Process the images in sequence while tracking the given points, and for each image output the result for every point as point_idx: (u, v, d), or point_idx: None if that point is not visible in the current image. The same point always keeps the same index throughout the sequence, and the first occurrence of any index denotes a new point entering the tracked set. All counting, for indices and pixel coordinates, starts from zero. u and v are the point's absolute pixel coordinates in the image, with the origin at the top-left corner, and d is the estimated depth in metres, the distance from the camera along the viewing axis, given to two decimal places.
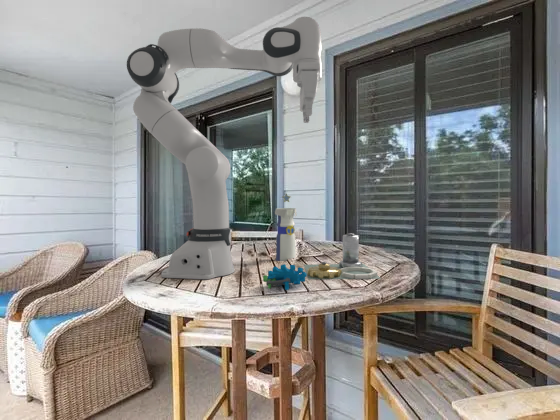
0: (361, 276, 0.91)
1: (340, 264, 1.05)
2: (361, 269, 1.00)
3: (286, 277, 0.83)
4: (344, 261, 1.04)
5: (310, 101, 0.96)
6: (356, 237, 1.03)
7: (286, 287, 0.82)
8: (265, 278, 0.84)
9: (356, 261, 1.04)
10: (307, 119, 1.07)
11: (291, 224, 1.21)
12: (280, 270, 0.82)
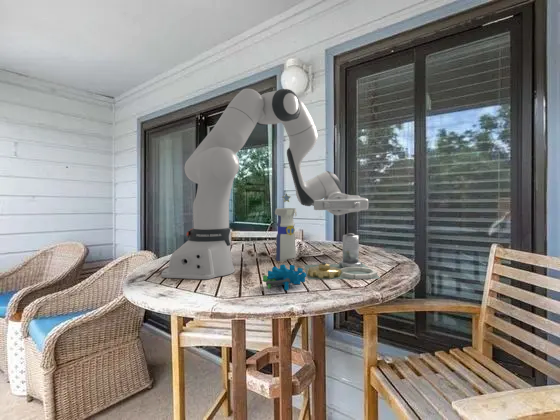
0: (361, 276, 0.91)
1: (340, 264, 1.05)
2: (361, 269, 1.00)
3: (286, 277, 0.83)
4: (344, 261, 1.04)
5: (359, 205, 1.20)
6: (356, 237, 1.03)
7: (286, 287, 0.81)
8: (265, 279, 0.84)
9: (356, 261, 1.04)
10: (332, 206, 1.18)
11: (291, 224, 1.21)
12: (280, 270, 0.82)
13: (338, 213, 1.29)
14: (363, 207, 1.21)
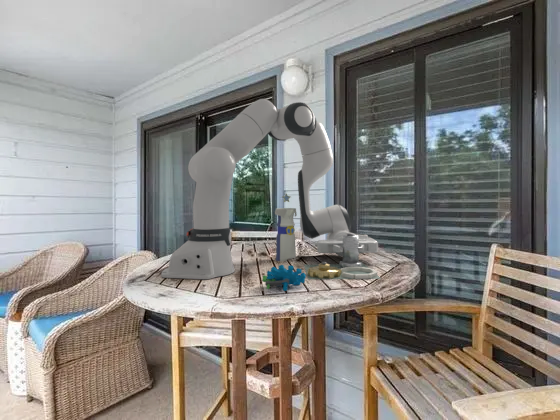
0: (361, 276, 0.91)
1: (340, 264, 1.05)
2: (361, 269, 1.00)
3: (285, 278, 0.82)
4: (344, 261, 1.04)
5: None
6: (356, 237, 1.03)
7: (284, 288, 0.81)
8: (264, 279, 0.84)
9: (356, 261, 1.04)
10: (342, 250, 1.05)
11: (291, 224, 1.21)
12: (278, 271, 0.82)
13: None
14: (372, 250, 1.09)
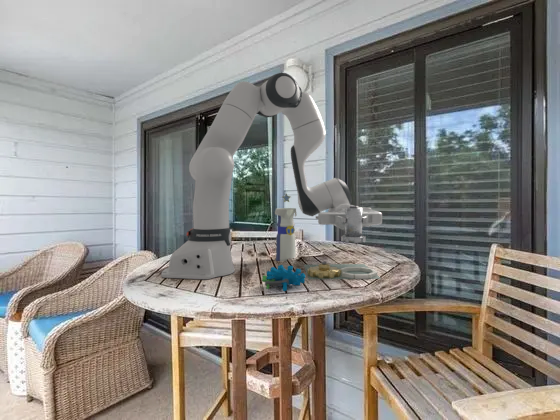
0: (361, 276, 0.91)
1: (342, 238, 1.00)
2: (361, 269, 1.00)
3: (284, 278, 0.82)
4: (347, 235, 0.99)
5: (367, 220, 1.03)
6: (360, 209, 0.98)
7: (284, 288, 0.81)
8: (264, 279, 0.84)
9: (359, 234, 0.98)
10: None
11: (291, 224, 1.21)
12: (278, 271, 0.81)
13: None
14: (376, 222, 1.04)
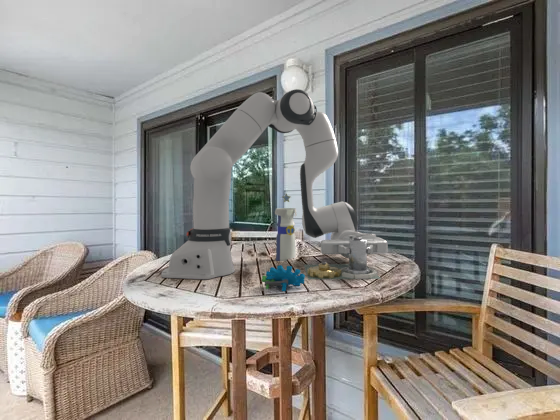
0: (361, 276, 0.91)
1: (346, 271, 0.95)
2: None
3: (284, 278, 0.82)
4: (351, 268, 0.95)
5: (372, 250, 0.98)
6: (364, 241, 0.94)
7: (283, 288, 0.81)
8: (263, 279, 0.84)
9: (364, 268, 0.94)
10: None
11: (291, 224, 1.21)
12: (277, 271, 0.81)
13: None
14: (381, 251, 0.99)
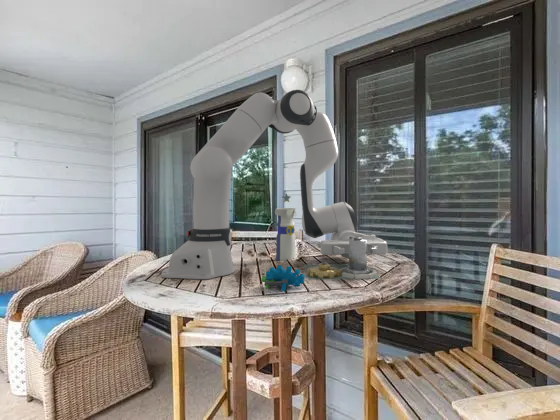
0: (361, 276, 0.91)
1: (346, 271, 0.95)
2: None
3: (284, 278, 0.82)
4: (351, 268, 0.95)
5: (377, 250, 0.98)
6: (364, 241, 0.94)
7: (282, 288, 0.80)
8: (263, 279, 0.84)
9: (364, 268, 0.94)
10: (343, 252, 0.96)
11: (291, 224, 1.21)
12: (277, 271, 0.81)
13: None
14: (381, 252, 0.99)
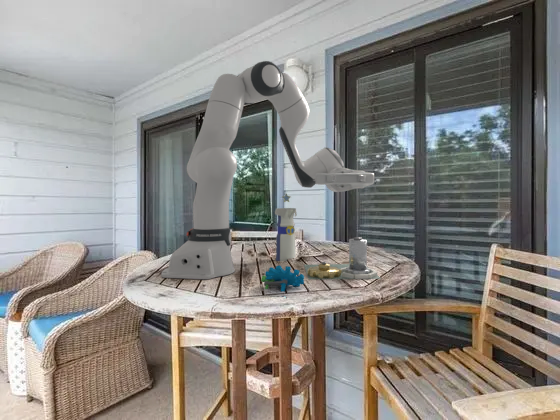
0: (361, 276, 0.91)
1: (346, 271, 0.95)
2: None
3: (283, 278, 0.82)
4: (351, 268, 0.95)
5: (365, 179, 1.11)
6: (364, 241, 0.94)
7: (282, 289, 0.80)
8: (263, 279, 0.84)
9: (364, 268, 0.94)
10: None
11: (291, 224, 1.21)
12: (276, 271, 0.81)
13: (341, 189, 1.20)
14: (368, 181, 1.13)
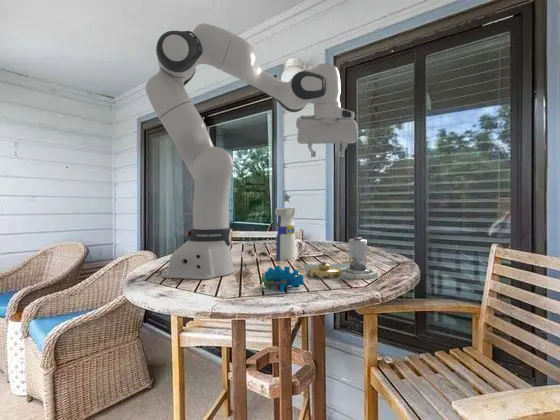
0: (361, 276, 0.91)
1: (346, 271, 0.95)
2: None
3: (282, 279, 0.81)
4: (351, 268, 0.95)
5: None
6: (364, 241, 0.94)
7: (281, 289, 0.80)
8: (262, 279, 0.83)
9: (364, 268, 0.94)
10: None
11: (291, 224, 1.21)
12: (275, 271, 0.81)
13: None
14: None
